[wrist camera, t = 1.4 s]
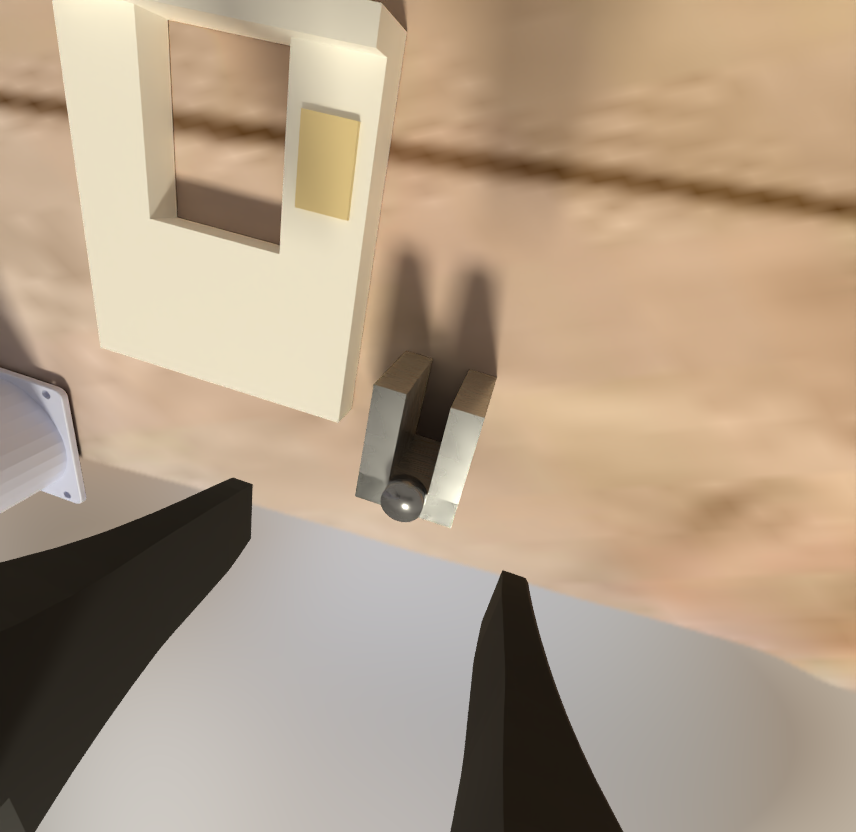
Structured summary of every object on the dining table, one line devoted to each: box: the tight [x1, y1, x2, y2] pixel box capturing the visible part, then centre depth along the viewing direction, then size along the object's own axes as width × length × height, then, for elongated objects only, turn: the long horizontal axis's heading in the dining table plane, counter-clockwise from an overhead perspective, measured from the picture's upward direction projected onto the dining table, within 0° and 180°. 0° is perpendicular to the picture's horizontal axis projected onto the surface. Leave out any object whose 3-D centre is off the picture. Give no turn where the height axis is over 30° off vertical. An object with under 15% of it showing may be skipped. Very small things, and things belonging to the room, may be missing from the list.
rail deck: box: [52, 0, 407, 423], centre depth 18 cm, size 12×14×2 cm
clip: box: [355, 351, 497, 528], centre depth 18 cm, size 4×5×5 cm
